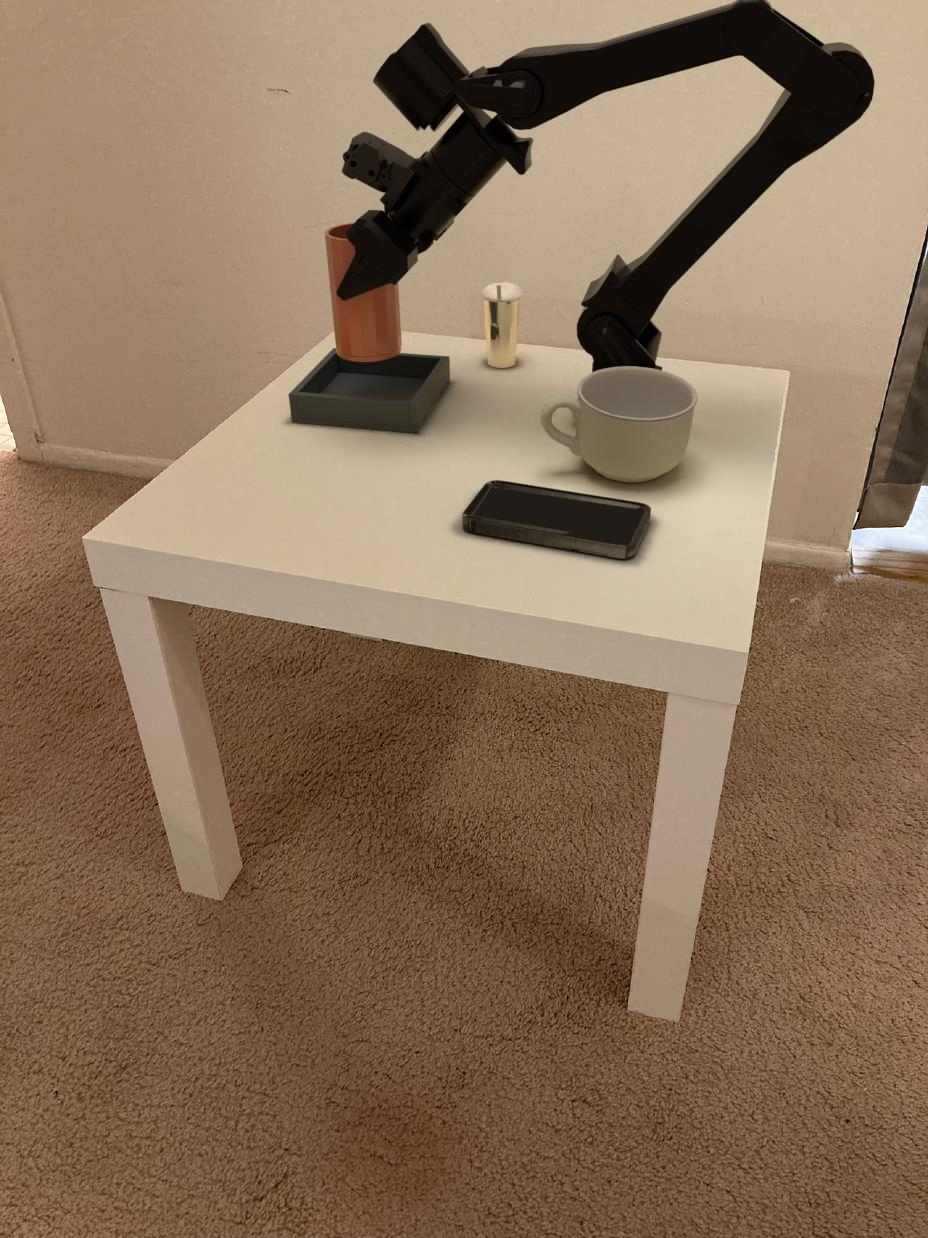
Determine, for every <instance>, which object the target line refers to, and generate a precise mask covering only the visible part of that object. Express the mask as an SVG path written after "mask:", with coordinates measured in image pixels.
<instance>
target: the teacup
mask: <svg viewBox="0 0 928 1238" xmlns="http://www.w3.org/2000/svg"><path fill="white" fill-rule="evenodd" d="M576 390H577V392H576V394H577V398H575V397H574V396H572V395H569V394H557V395H553V396H552V397H550V398H549V399H548V400H547V401H545V403H544V405H543V406H542V408H541V410H540V423H541V426H542V428H543V430H544V432H545V433H546V434H547V435H548V436H549V437H550V438H551V439H552V440H554V441H555V442H556V443H558V444H560V445H563V446H564V447H566V448H568V449H569V451H570V452H571V453H572V454H573V455H574V456H580V457H581V458H582V460H583V461H584V462H586V464H587V465H588V466H590V467H591V468H593V470H594V471H595V472H596V473H598V474H600V475H602V476H603V477H605V478H607V479H609V480H613V481H616V482H620V483H621V482H622V483H631V484H632V483H645V482H649V481H651V480H654V479H657V478H658V477H660V476H662V475H663V474H666V473H668V472H669V471H671V470H673V469H674V468H675V467H676V466H677V465H678V464H679V463H680V462H681V461H682V459H683V457H684V455H685V453H686V452H687V448H688V445H689V440H690V434H691V430H692V426H693V425H692V424H693V419H694V412H695V407H696V405H697V402H698V393H697V390H696V388H695V387H694V386H693V385H691V384H690V382H689V381H687V380H686V379H683V378H682V377H681V376H678V375H676V374H673V373H672V372H668V371H664V370H662V371H661V370H657V369H653V368H647V367H636V366H620V367H612V368H605V369H601V370H597V371H594V372H592V371H591V373H588V374H587V375H585V376H584V377H583V378H581V380H580V381H579V383H578V385H577V389H576ZM562 408H565V409H568V410H570V412H571V413H572V419H573V421H574V422H575V435H571V434H568V433H565V432H563V431H562V430H560V429H558V428H557V427H556V426H555V425H554V424H553V421H552V419H553V415H554V413H555V412H556V411H557V410H559V409H562Z"/></svg>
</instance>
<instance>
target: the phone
mask: <svg viewBox="0 0 928 1238" xmlns="http://www.w3.org/2000/svg"><path fill="white" fill-rule="evenodd" d="M651 513H652V508H651V506H650V505H648V504H647V503H644V502H639V501H635V500H634V501H633V500H627V499H621V498H614V497H609V496H608V497H607V496H602V495H595V494H589V493H584V492H583V493H582V492H576V491H570V490H563V489H557V488H551V487H545V486H539V485H532V484H527V483H521V482H520V483H519V482H513V481H508V480H507V481H506V480H499V479H493V480H489V481H487V482H485V483H484V484H483V485H482V487H481V488H480V490H479V491H478V492H477V493H476V495H475V496H474V498H473V499H472V500H471V501H470V502H469V504H468V505H467V507H466V508H465V510H464V511H463V512H462V528H463V530H464V531H466V532H469V533H473V534H479V535H485V536H489V537H496V538H501V539H507V540H512V541H517V542H518V541H519V542H524V543H530V544H535V545H541V546H546V547H553V548H558V549H563V550H568V551H575V552H581V553H587V554H592V555H597V556H602V557H608V558H615V559H622V560H624V559H630V558H633V557H634V556H635V555H636V554H637V552H638V549H639V547H640V544H641V542H642V541H643V539H644V536H645V534H646V531H647V529H648V527H649V525H650V522H651V515H652V514H651Z"/></svg>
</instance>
